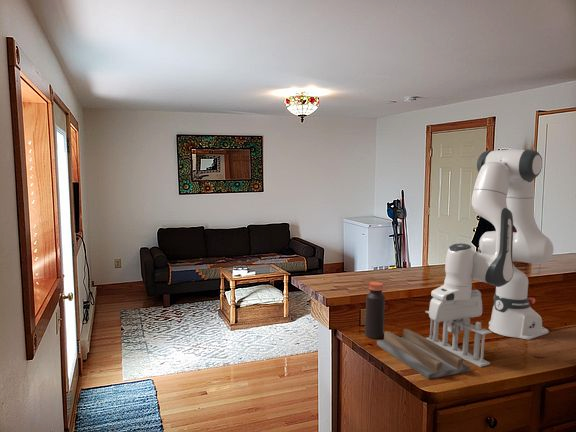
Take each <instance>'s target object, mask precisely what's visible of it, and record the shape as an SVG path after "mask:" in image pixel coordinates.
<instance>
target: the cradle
mask: <svg viewBox="0 0 576 432" xmlns="http://www.w3.org/2000/svg"><path fill="white" fill-rule="evenodd" d="M426 338H427V337H424V336H423V335H421V334H419V333H417V332H415V331H414V330H412V329H410V328H403V329H402V336H398V335H396V334H395V333H393V332H392V331H390V330H387V331H386V330H385V331H384V333H383V339H379V340H376V346H378V347H380V348H381V349H382V350H384V351H385V352H387V353H389V354H390V355H392V356H393V357H394V358H395V359H398V360H399V361H401V362H402V363H404V365H406V366H407V367H409V368H411V369H412V370H414V371H416V372H417V373H418V374H420V375H422V376H423V377H424V378H426V379H427V380H430V379H436V378H440V377H446V376H451V375H457V374H463V373H468V372H470V371H471V366H470V365H468V364H467V363H465V362H464V359H463V358H461V357H459V356H457V355H456V354H454V353H452V352H450V351H448V350H446V349H445V348H443V347H441V346H439V345H437V344H435V343H434V342H432V341H430V340H428V339H426Z"/></svg>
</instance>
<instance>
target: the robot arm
mask: <svg viewBox="0 0 576 432" xmlns="http://www.w3.org/2000/svg"><path fill="white" fill-rule="evenodd" d="M542 168H543V157H542V156H541V154H540V153H539V151H537V150H533V149H527V148H526V149H520V148H507V149H496V150H494V149H489V150H485V151H483V152H482V153H481V154H480V155H479V156H478V159H477V161H476V170H477V172H478V174H477V177H476V179H475V182H474V186H473V191H472V196H471V207H472V209H473V211H474V212H475V213H476V214H477V215H478V216H479V217H480V218H483V219H485V220H486V221H488V222H489V223H491V224H492V226H494V229H495V230H493V231H492V230H491V231H486V232H484V233H483V234H482V235H481V236H480V238H479V241H478V247H479V250H480V252H479V251H477V250H474V249H473V247H472V245H471V244H467V243H455V244H451V245H450V246H449V247H448V249H447V251H446V255H445V263H444V272H445V278H444V282H443V284H442V285H441V286H439V287H436V288H435V289H433V290H432V291H431V292H430V294H431V297H432V298H431V299H430V301H429V308H428V309H429V310H428V311H429V313H428V317H429V318H430V321H431V320H433V322H434V321H435V322H439V323H441V322H444V321H445V322H446V324H447V326H448V333H453V332H454V329H455V327H453V326H454V325H453V324H454V323H453V320H456V319H460V320H462V321H465V320H464V319H465V318H470V319H471V318H476V317H477V318H478V317H481V316H482V314H483V300H482V293H481V291H480V290H478V289H472V287H473V283H472V280H474V281H477V282H482V283H487V284H488V285H491V286H494V287H495V292H494V295H493V306H492V311H491V316H490V320H489V321H488V330H489V331H491V332H492V333H495V334H497V335H499V336H505V337H508V338H509V337H510V338H518V339H524V340H532V339H535V338H537V337H541V336H543V335H546V334H549V333H550V331H549V329H548V328H545V327H544V326H543V319H542V317H541V315H540V314H539V313H538V312H537V311H536V310H534V309H533V308H532V307H531V304H532V305H533V304H535V303H536V299H535V298H534V297H528V289H529V278H528V277H527V275H526V274H525V273H524V272H523V271H522V270H520V269H518V268H517V267H516V266H515V265H514V263H513V262H521V263H527V264H544V263H547V262H548V261H549V260H550V259H551V258H552V257H553V254H554V245H553V242H552V240H551V239H550V238H549V237H548V236H547V235H545V234H544V233H543V232H542V231H541V230H540V228H539V226H538V225H537V222H536V219H535V193H536V192H535V189H536V188H535V179H536V178H537V177H538V176H539V175H540V174H541V172H542ZM514 228H515V230H516V232H515V231H514ZM461 331H462V332H463V331H464V327H462V326H459V332H461Z"/></svg>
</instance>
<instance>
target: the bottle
mask: <svg viewBox="0 0 576 432" xmlns="http://www.w3.org/2000/svg"><path fill="white" fill-rule="evenodd" d="M368 288H369V293H368V294H366V298H365V299H366V301H365V320H364V321H365V324H364V328H365V329H364V335H365V336H366V337H367V338H370V339H373V340H375V339H382V338H384V332H385V331H384V330H385V329H384V328H385V306H386V297H385V295H384V294H383V291H384V283H383V282H379V281H371V282H369V286H368Z"/></svg>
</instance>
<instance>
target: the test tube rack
mask: <svg viewBox="0 0 576 432" xmlns="http://www.w3.org/2000/svg"><path fill="white" fill-rule="evenodd" d="M424 312H425V313H426V314H429V310H425V311H424ZM464 320H465V321H462V320H460V319H456V320H453V323H452V324H453V325H452V326H453V327H455V329H454V332H452V342H451V343H452V344H450V343H448V340H449V331H448V326H447V324H446V322H445V321H443V324H442V325H443V327H442V340H441V339H439V329H440V327H439V326H440V322H435V321H433V320H431V319H430V327H429V329H430V331H429V337H425V338H426V339H428V340H430V341H432V342H434V343H435V344H437V345H439V346H441V347H443V348H445V349H446V350H448V351H450V352H452V353H454V354H456V355H457V356H459V357H461V358H463V361H464V360H465V362H468V363H471V364H473V365H475V366H477V367H479V368H482V367H486V366H489V365H490V364H491V362H490V361H487V360H485V359H484V355H485V354H484V353H485V340H486V335H488V334H492V333H493V332H492V331H491V330H490V329H486V328H483V327H482V322H481V321H480V322H479V321H476V322H475V324H472V323H471V318H465V319H464ZM459 326H462V327H463V338H462V349H460V348H459V346H458V345H459V332H460V331H459ZM470 331H472V332H474V340H473V354H472V353H470V352H469V346H470V345H469V342H470V340H469V339H470ZM480 347H481V348H480Z"/></svg>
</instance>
